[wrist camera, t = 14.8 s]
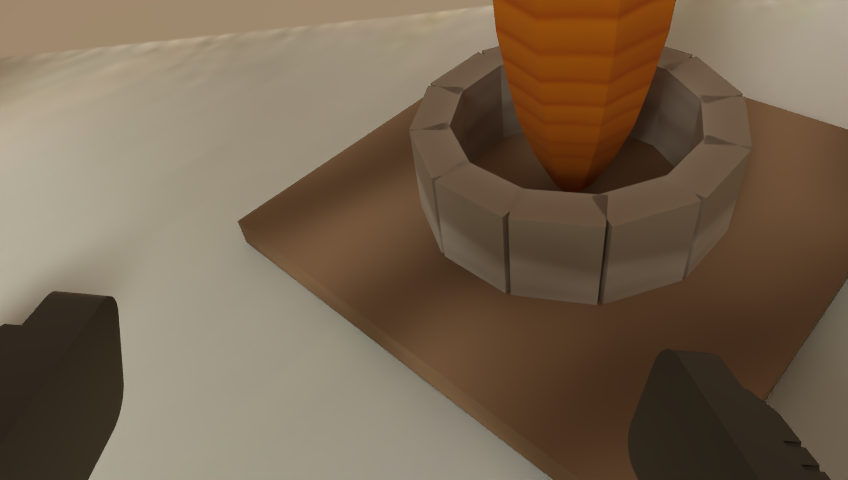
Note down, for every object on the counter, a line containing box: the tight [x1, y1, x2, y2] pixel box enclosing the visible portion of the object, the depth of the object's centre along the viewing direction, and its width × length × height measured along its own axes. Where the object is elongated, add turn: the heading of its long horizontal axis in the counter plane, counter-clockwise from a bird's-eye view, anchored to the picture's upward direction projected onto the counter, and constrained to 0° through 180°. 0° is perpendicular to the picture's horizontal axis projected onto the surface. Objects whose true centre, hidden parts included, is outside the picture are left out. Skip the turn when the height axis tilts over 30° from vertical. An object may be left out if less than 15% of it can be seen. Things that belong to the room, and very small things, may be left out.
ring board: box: [238, 46, 848, 480], centre depth 21 cm, size 16×16×4 cm
